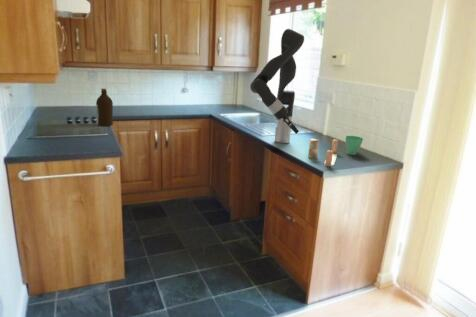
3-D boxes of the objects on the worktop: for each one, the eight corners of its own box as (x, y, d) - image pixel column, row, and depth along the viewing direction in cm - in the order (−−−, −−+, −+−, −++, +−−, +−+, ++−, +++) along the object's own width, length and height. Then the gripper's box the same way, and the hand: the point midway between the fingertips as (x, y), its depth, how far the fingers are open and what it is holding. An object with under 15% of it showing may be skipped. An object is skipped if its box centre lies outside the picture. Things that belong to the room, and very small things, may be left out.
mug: (360, 157, 210) (363, 140, 207) (343, 154, 213) (345, 138, 210) (360, 151, 224) (362, 135, 221) (343, 149, 226) (346, 133, 224)
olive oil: (114, 123, 258) (113, 88, 251) (112, 126, 248) (111, 89, 241) (98, 123, 256) (96, 87, 249) (96, 126, 246) (94, 89, 239)
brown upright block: (307, 157, 202) (309, 140, 200) (308, 155, 207) (310, 138, 204) (316, 159, 201) (318, 141, 198) (317, 156, 205) (319, 139, 203)
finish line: (322, 165, 189) (324, 151, 187) (329, 152, 217) (331, 139, 215) (332, 167, 188) (334, 152, 185) (338, 153, 216) (340, 140, 213)
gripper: (284, 106, 189) (303, 129, 192) (281, 102, 202) (299, 124, 206) (273, 116, 190) (292, 138, 194) (271, 111, 204) (289, 132, 207)
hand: (296, 131), depth 200 cm, fingers open, 8 cm apart
